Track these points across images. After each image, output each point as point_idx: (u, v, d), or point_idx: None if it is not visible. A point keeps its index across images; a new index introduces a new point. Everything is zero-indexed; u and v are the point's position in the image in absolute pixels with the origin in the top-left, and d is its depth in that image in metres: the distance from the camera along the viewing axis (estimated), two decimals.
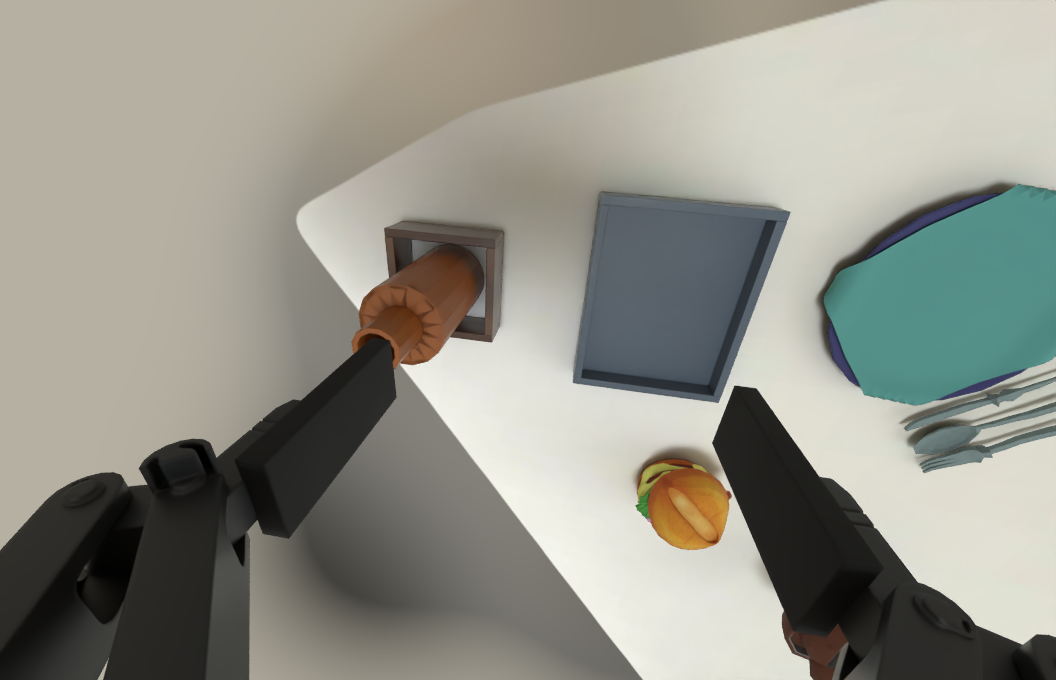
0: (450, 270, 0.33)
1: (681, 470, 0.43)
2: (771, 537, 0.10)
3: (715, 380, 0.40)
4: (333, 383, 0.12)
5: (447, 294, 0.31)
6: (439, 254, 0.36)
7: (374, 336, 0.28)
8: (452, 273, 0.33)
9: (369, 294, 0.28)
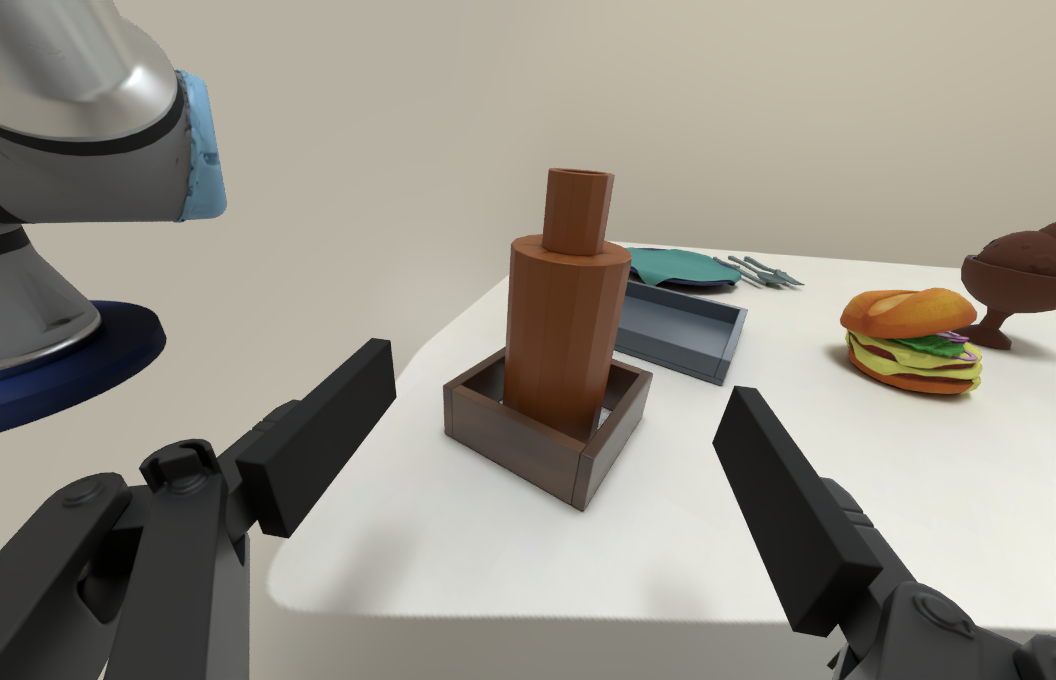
0: None
1: (845, 324, 0.39)
2: (771, 537, 0.10)
3: (724, 312, 0.46)
4: (333, 383, 0.12)
5: None
6: None
7: None
8: None
9: (515, 246, 0.21)
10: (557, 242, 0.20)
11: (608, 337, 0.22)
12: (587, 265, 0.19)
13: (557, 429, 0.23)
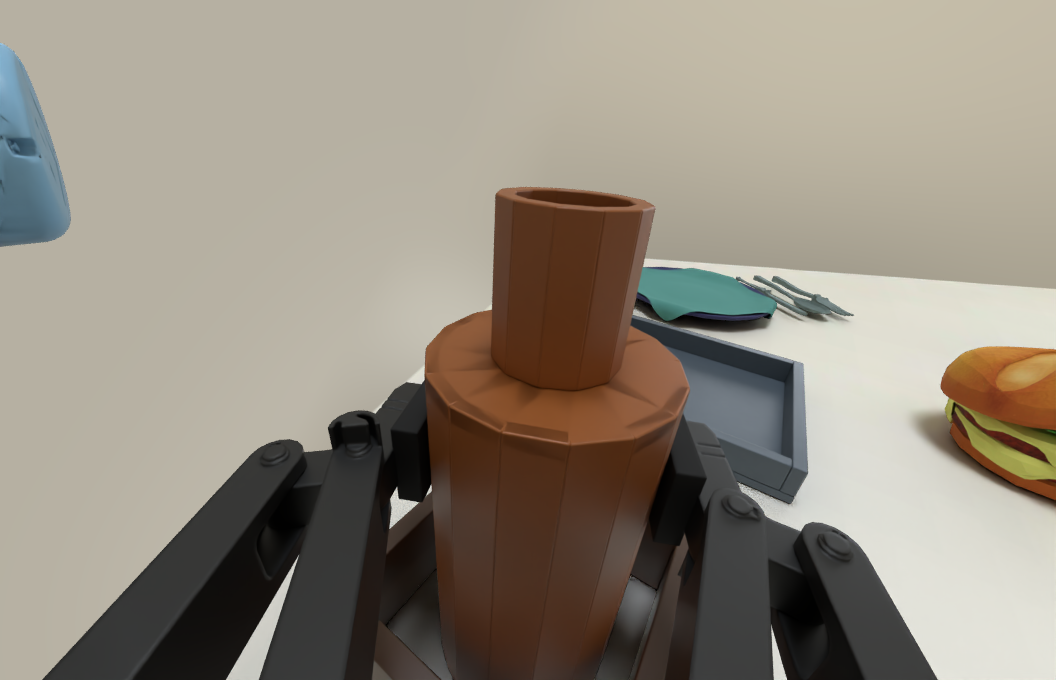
0: None
1: (955, 396, 0.27)
2: None
3: (771, 366, 0.34)
4: None
5: None
6: None
7: None
8: None
9: (429, 358, 0.10)
10: (520, 360, 0.09)
11: (634, 544, 0.10)
12: (590, 442, 0.07)
13: None
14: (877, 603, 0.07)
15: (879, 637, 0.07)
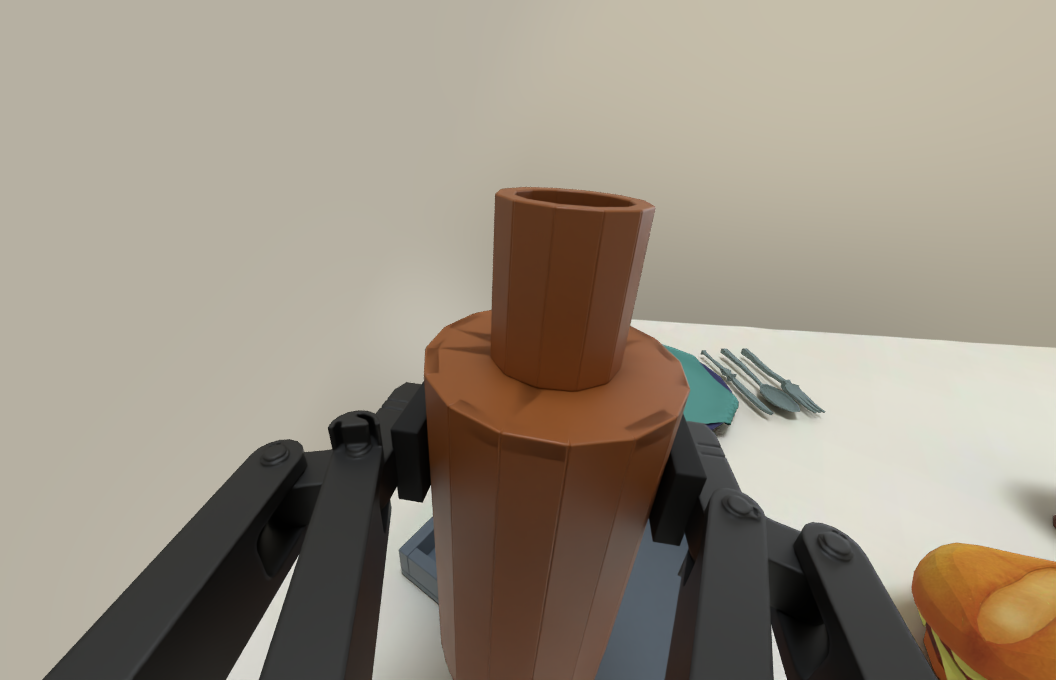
0: None
1: (928, 618, 0.22)
2: None
3: None
4: None
5: None
6: None
7: None
8: None
9: (429, 358, 0.09)
10: (519, 360, 0.09)
11: (634, 545, 0.10)
12: (590, 442, 0.07)
13: None
14: (877, 603, 0.07)
15: (879, 637, 0.07)
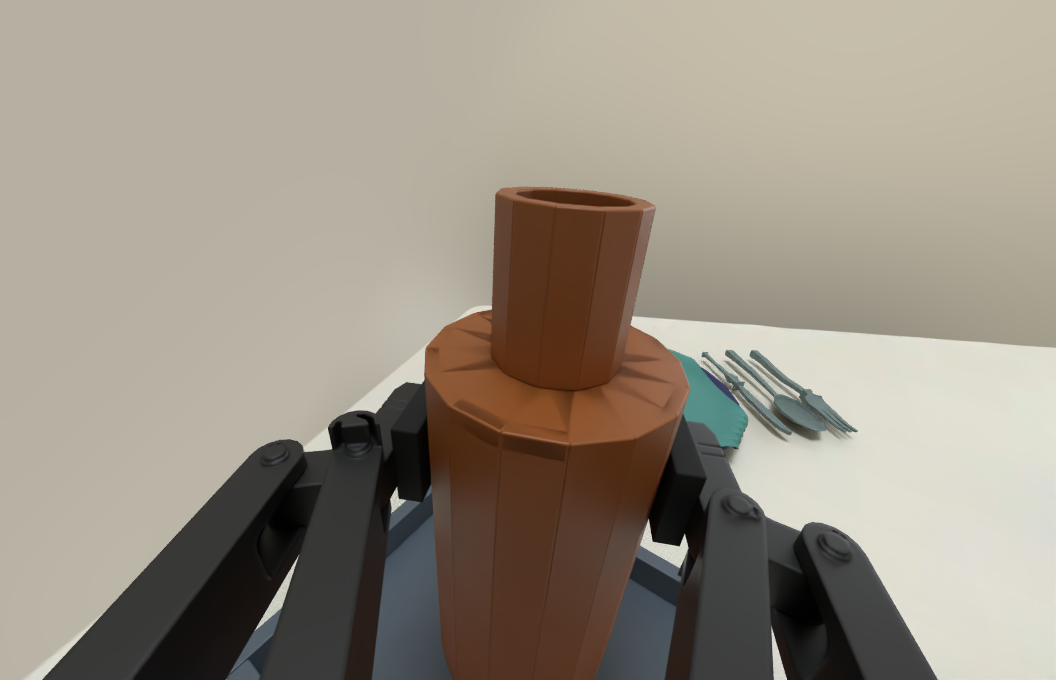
0: None
1: None
2: None
3: None
4: None
5: None
6: None
7: None
8: None
9: (429, 358, 0.10)
10: (520, 360, 0.09)
11: (634, 544, 0.10)
12: (590, 442, 0.07)
13: None
14: (877, 603, 0.07)
15: (879, 637, 0.07)
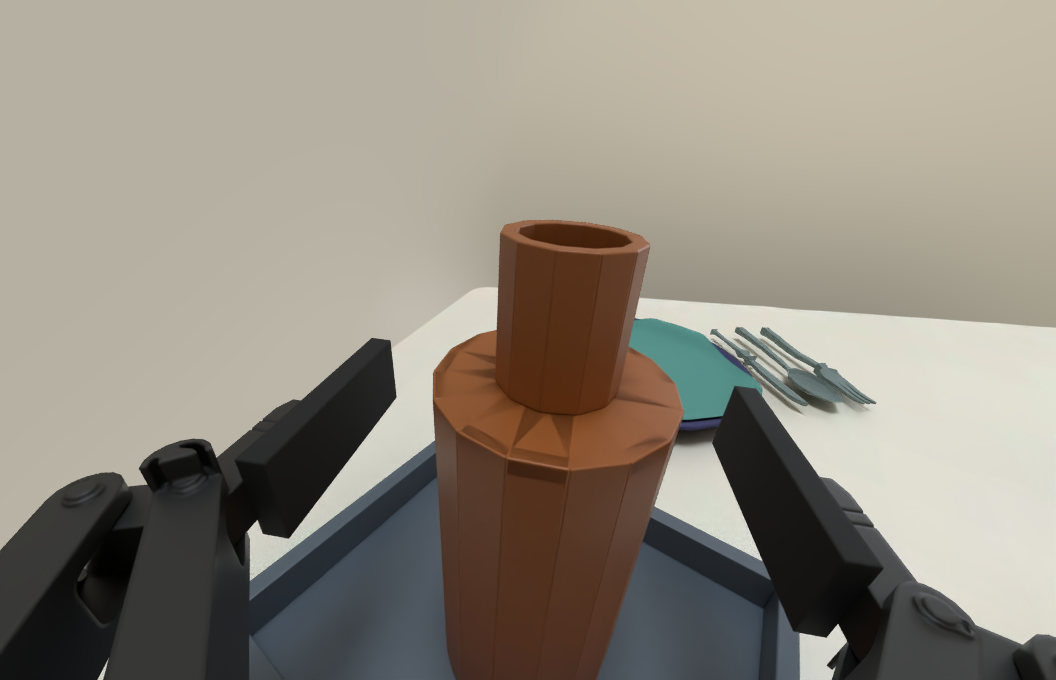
0: None
1: None
2: (771, 537, 0.10)
3: (738, 576, 0.18)
4: (333, 383, 0.12)
5: None
6: None
7: None
8: None
9: (437, 382, 0.10)
10: (523, 386, 0.09)
11: (632, 558, 0.11)
12: (589, 467, 0.08)
13: None
14: None
15: None
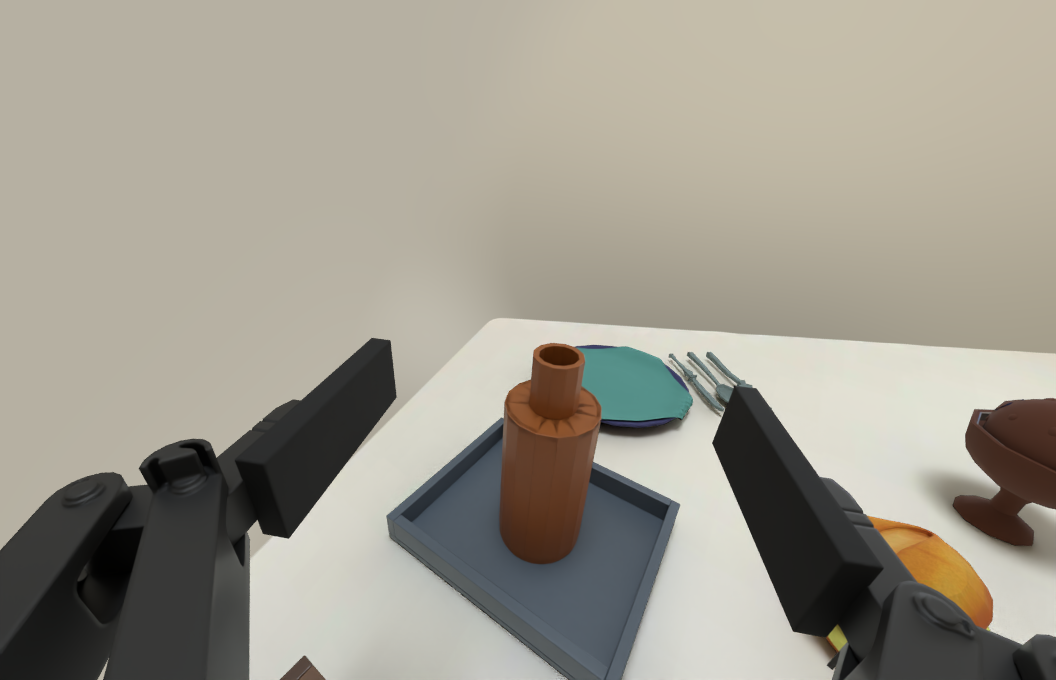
0: None
1: None
2: (771, 537, 0.10)
3: (650, 503, 0.34)
4: (333, 383, 0.12)
5: None
6: None
7: None
8: None
9: (507, 407, 0.26)
10: (541, 409, 0.25)
11: (583, 476, 0.27)
12: (563, 436, 0.24)
13: (544, 544, 0.29)
14: None
15: None
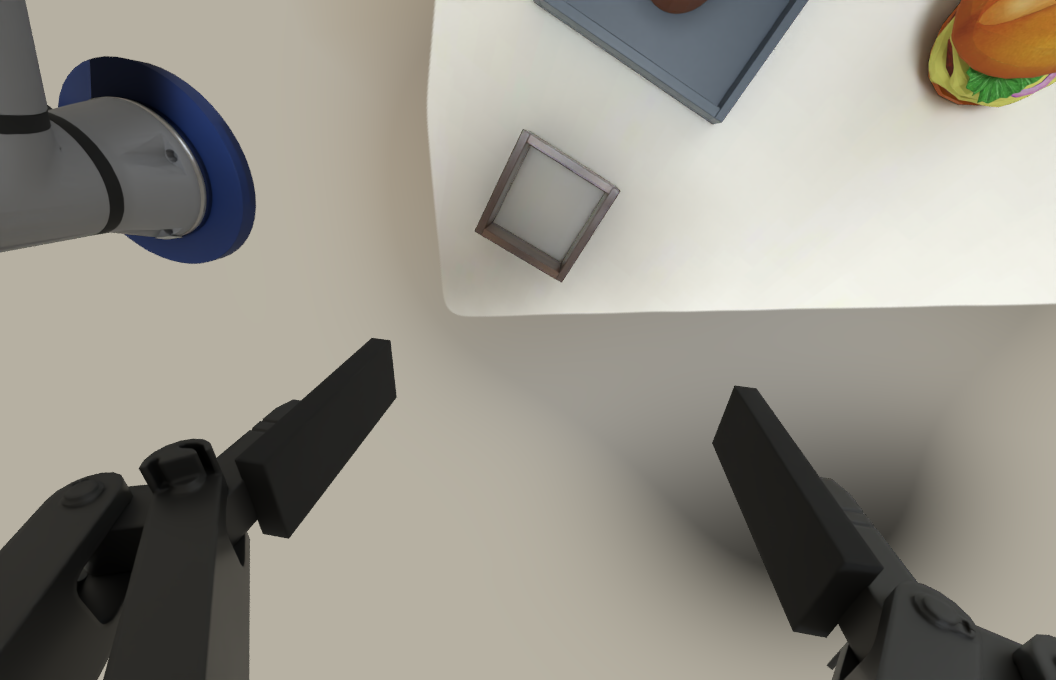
0: None
1: None
2: (771, 537, 0.10)
3: None
4: (333, 383, 0.12)
5: None
6: None
7: None
8: None
9: None
10: None
11: None
12: None
13: (689, 4, 0.30)
14: None
15: None
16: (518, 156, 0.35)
